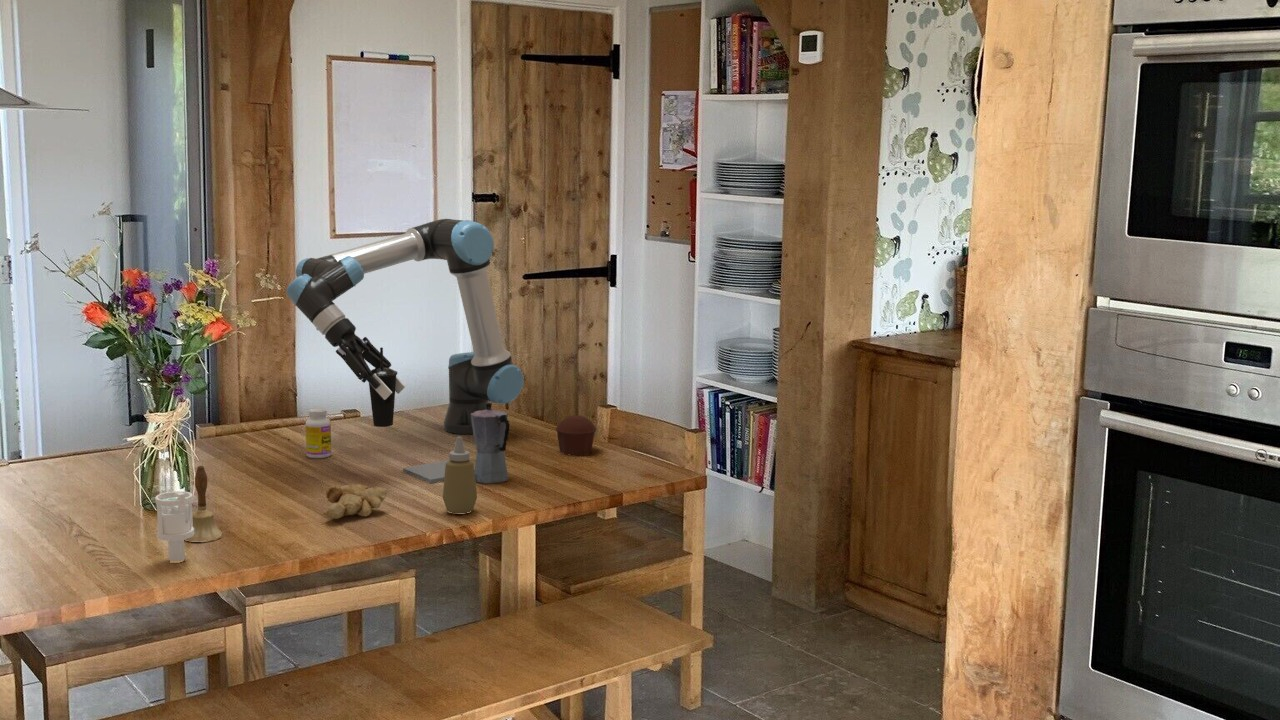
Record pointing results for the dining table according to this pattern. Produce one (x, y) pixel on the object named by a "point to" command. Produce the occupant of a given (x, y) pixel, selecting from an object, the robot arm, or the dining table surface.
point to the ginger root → (353, 500)
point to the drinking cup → (381, 407)
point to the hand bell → (203, 512)
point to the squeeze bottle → (459, 481)
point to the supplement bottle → (318, 434)
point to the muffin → (575, 435)
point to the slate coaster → (428, 471)
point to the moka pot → (490, 444)
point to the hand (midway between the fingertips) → (395, 393)
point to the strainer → (175, 521)
